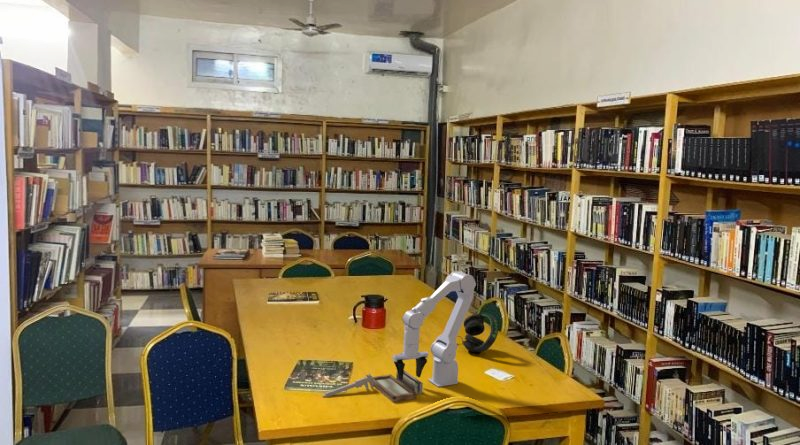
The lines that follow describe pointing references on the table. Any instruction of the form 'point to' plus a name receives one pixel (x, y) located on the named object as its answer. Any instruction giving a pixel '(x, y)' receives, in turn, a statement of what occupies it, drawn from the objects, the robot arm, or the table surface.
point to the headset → (479, 332)
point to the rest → (393, 388)
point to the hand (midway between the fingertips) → (409, 377)
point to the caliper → (352, 386)
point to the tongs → (411, 382)
